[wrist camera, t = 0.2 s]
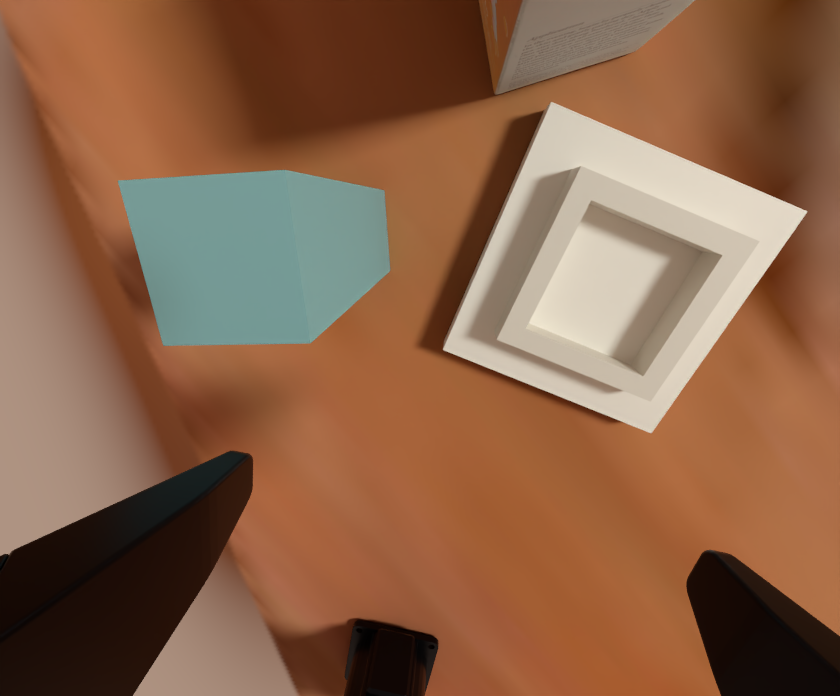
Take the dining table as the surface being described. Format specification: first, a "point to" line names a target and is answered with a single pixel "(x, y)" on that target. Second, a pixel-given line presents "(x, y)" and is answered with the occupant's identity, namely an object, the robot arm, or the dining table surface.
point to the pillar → (255, 253)
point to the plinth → (613, 269)
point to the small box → (565, 34)
